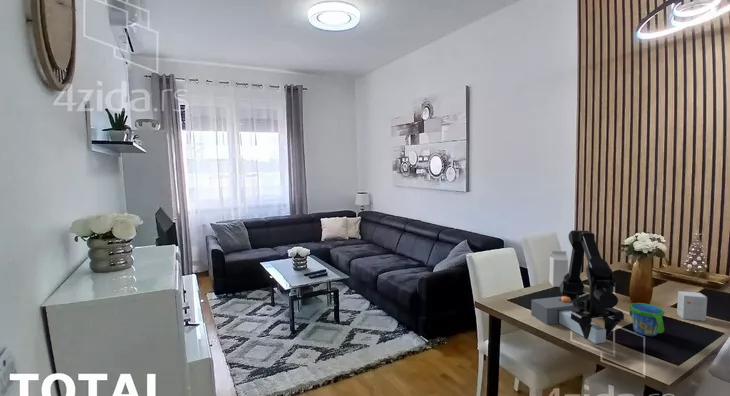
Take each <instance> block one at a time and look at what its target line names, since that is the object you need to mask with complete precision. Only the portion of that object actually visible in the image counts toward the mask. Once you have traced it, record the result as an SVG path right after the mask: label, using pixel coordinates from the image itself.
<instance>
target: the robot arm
mask: <svg viewBox="0 0 730 396" xmlns="http://www.w3.org/2000/svg"><path fill="white" fill-rule="evenodd" d="M568 241H569V243H570V245H571V248H572V249H571V255H570V260H569V261H570V262H569V266H568V274H566V275H565V276H564V279H563V281H562V283H561V285H560V287H559V292H560V293H561V294H562V296H566V297H570V298H571V301H573V306H574V307H575V308H577V309H580V311H577V312H572V313H571V319H572V320H574V321H575V322H577V323H578V324H579V325H580V327H581V330H582V332H583V335H584V337H583V338H584V340H588V337H589V334H590V330H591V327H592V325H591V324H590V323H591V322H592V320H594V319H600V318H603V320H604V329H606V337H609V336H610V335H611V333H612V332H613V331H614V329H615V328H616V327H617V326H618V324H620V323H621V322H622V320H623V321H624V319H625V314H624V313H623V311H621V310H620V309H617V308H615V307H616V306H617V305H618V302H619V299H618V297H617V295H616V294H615V293H614V292H613V289H612V288H615V287H616V278H615V274H614V271H613V270H612V268H611V267H610V266H609V263H608V262H607V261H606V260H605V259H603V258H602V256H601V253H600V250H599V247H598V246H597V245H598V244H597V242H596V235H595V233H594V232H590V231H589V230H571V231H570V232H569V233H568ZM584 255H585V257H586V260H587V265H586V269H585V273H586V276H587V280H588V283H589V288H588V289H589V291H588V293H589V294H588V297H586V298H585V299H583V300H582V299H580V296H583V294H584V289H585V285H584V282H583V280H582V278H581V274H582V273H581V272H582V266H583V261H584ZM581 310H584V312H583V311H581Z"/></svg>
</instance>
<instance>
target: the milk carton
mask: <svg viewBox="0 0 730 396" xmlns="http://www.w3.org/2000/svg"><path fill="white" fill-rule="evenodd" d="M568 273H569V259H568V255H567V251H566V250H565V251H564V250H563V251H562V250H561V251H560V250H552V251H551V254H550V256H549V273H548V274H549V276H548V277H549V281H548V282H549V284H550V285H551V286H552V287H553V288H556V287H557V288H560V285H561V283H562V281H563V279H564V276H565V275H566V274H568Z"/></svg>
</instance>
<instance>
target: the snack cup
mask: <svg viewBox="0 0 730 396" xmlns="http://www.w3.org/2000/svg"><path fill="white" fill-rule="evenodd" d="M629 316H630V317H631V318H632V319H631V321H632V328H633V330H634V331H635V332H636V333H638V334H640V335H643V336H646V337H655V336H658V334H662V333H664V332H665V326H664V320H663V317H664V316H665V311H664V309H662V308H661V307H659V306H657V305H653V304H651V303H650V304H649V303H643V302H635V303H634V302H633V303H631V304H630V305H629Z"/></svg>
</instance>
